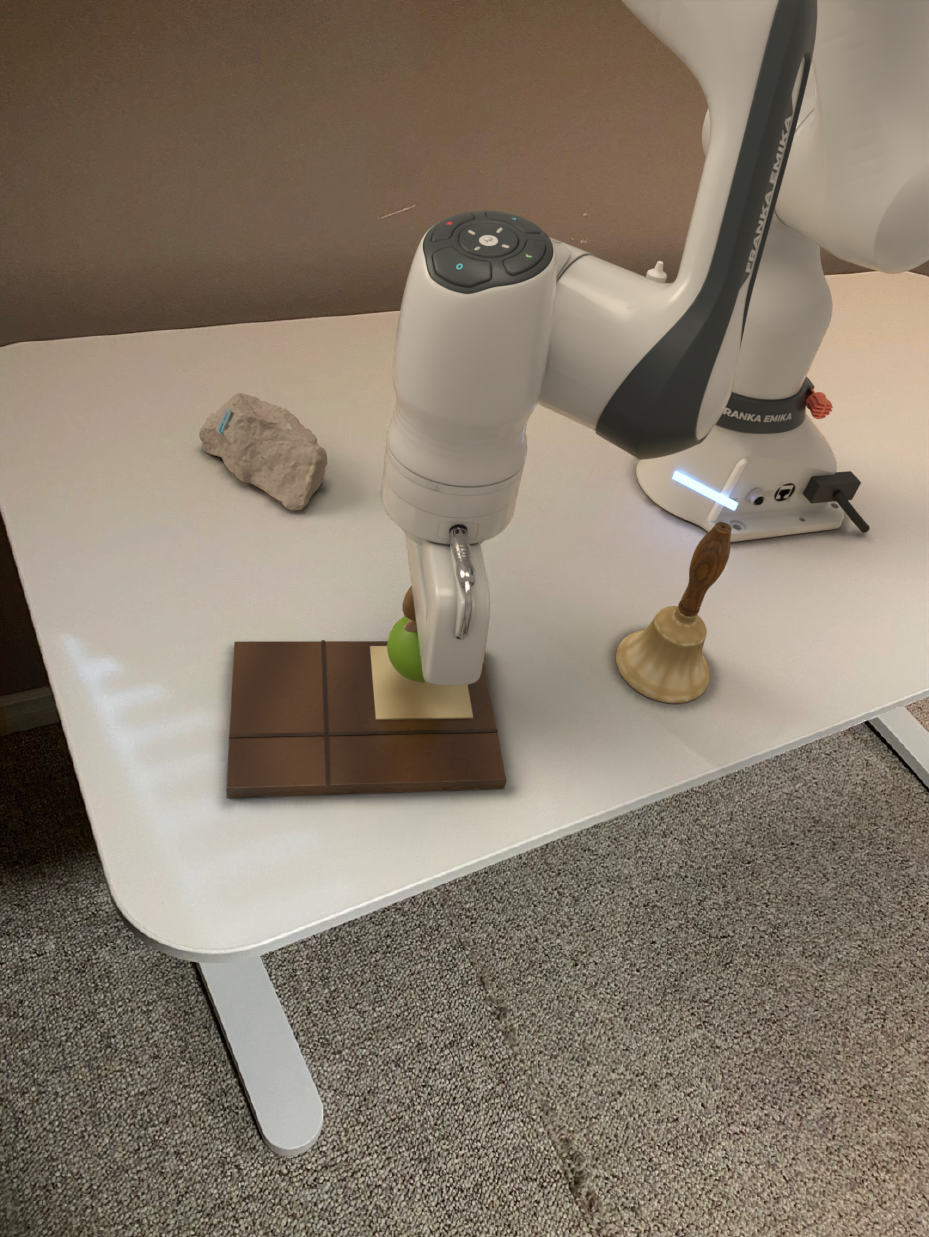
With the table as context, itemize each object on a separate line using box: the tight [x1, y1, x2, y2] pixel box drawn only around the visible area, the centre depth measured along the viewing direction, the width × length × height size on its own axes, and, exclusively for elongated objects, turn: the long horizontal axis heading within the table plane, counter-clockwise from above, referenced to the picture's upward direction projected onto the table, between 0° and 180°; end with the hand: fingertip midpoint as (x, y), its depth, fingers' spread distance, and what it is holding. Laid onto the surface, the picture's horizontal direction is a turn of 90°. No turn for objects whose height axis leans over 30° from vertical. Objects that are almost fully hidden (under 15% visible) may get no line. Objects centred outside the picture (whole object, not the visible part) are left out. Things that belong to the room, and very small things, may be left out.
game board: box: [225, 639, 507, 799], centre depth 72 cm, size 20×14×1 cm
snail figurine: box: [387, 584, 426, 682], centre depth 69 cm, size 5×6×12 cm
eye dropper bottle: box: [645, 260, 668, 283], centre depth 116 cm, size 4×6×12 cm
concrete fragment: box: [198, 392, 328, 511], centre depth 90 cm, size 7×14×6 cm, turn 47°
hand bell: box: [615, 522, 732, 705], centre depth 75 cm, size 8×8×16 cm
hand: (427, 629), depth 70 cm, fingers closed on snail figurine, 3 cm apart
